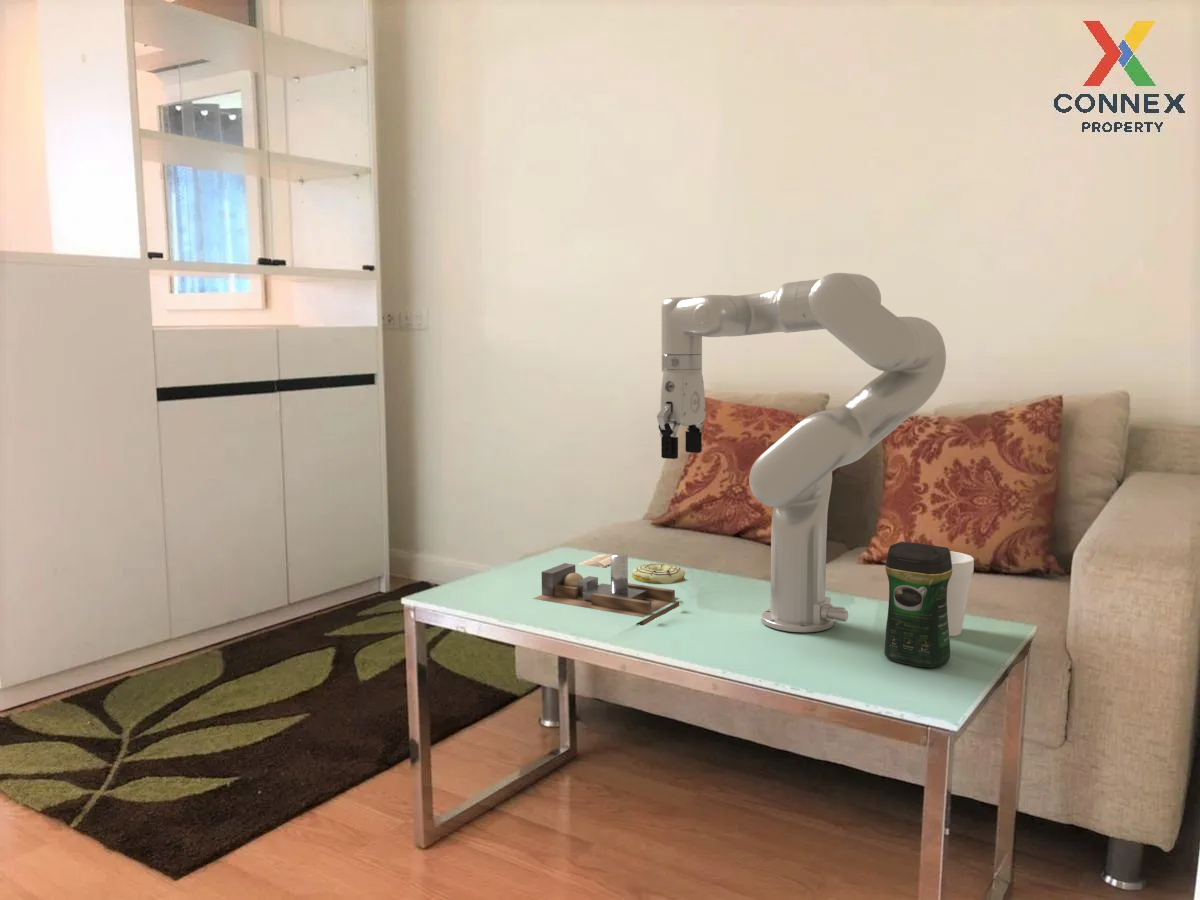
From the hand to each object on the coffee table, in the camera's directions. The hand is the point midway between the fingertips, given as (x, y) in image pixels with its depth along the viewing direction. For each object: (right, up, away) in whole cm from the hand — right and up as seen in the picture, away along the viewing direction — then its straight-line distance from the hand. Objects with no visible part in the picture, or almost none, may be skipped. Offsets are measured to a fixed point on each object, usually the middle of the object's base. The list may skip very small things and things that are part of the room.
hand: (681, 455), depth 184 cm
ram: (-13, -27, 0) cm, 30 cm away
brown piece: (-14, -29, +1) cm, 32 cm away
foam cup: (+43, -30, -16) cm, 55 cm away
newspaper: (-19, -26, +28) cm, 43 cm away
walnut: (-20, -27, +5) cm, 34 cm away
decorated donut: (-3, -27, +16) cm, 32 cm away
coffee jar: (+34, -32, -30) cm, 56 cm away
